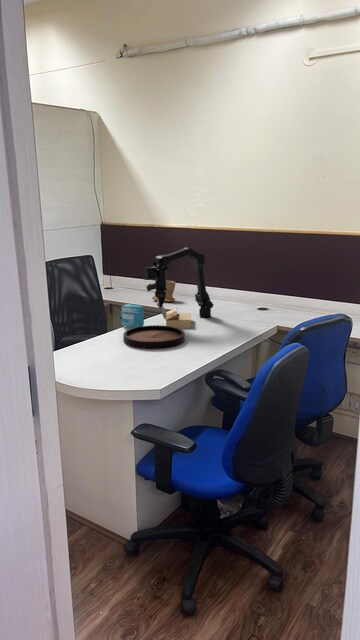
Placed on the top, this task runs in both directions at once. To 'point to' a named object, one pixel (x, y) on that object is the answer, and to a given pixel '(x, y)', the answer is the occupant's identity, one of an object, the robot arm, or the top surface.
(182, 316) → the carton
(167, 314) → the carton flap
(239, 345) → the top surface
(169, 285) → the tan suede boot shape
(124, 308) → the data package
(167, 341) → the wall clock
